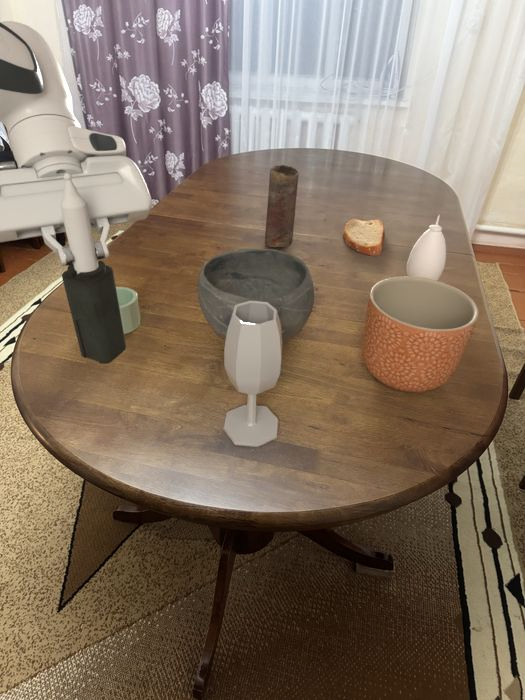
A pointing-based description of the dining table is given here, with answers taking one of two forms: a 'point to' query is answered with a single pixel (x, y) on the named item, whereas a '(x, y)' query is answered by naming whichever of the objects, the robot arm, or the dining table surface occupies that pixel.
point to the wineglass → (252, 370)
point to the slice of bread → (365, 236)
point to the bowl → (256, 287)
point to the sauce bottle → (428, 254)
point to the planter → (416, 332)
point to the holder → (128, 309)
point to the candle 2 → (281, 206)
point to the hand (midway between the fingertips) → (86, 260)
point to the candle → (90, 285)
